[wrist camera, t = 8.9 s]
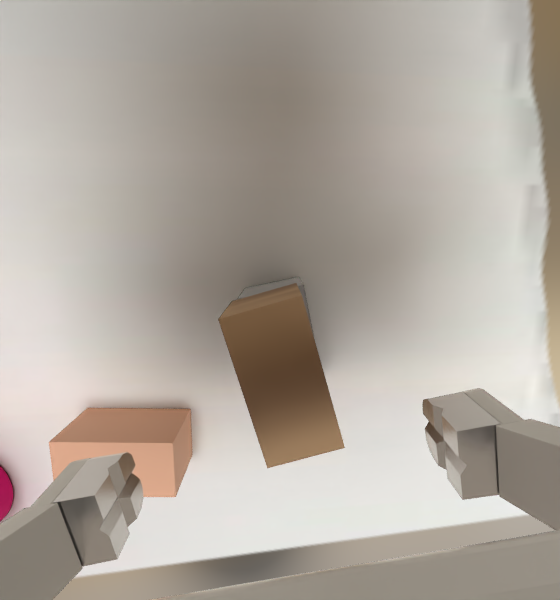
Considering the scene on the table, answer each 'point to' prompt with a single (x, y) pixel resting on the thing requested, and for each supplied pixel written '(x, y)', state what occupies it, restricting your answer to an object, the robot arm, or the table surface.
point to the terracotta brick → (131, 443)
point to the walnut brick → (281, 375)
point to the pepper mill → (5, 494)
